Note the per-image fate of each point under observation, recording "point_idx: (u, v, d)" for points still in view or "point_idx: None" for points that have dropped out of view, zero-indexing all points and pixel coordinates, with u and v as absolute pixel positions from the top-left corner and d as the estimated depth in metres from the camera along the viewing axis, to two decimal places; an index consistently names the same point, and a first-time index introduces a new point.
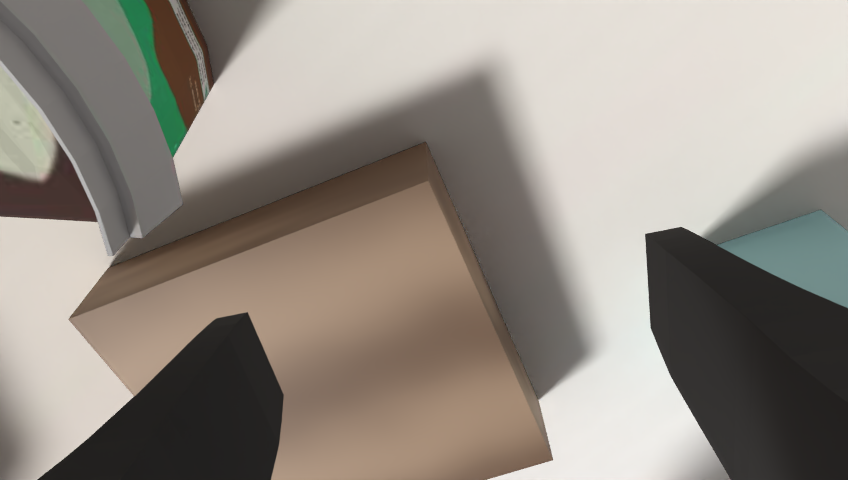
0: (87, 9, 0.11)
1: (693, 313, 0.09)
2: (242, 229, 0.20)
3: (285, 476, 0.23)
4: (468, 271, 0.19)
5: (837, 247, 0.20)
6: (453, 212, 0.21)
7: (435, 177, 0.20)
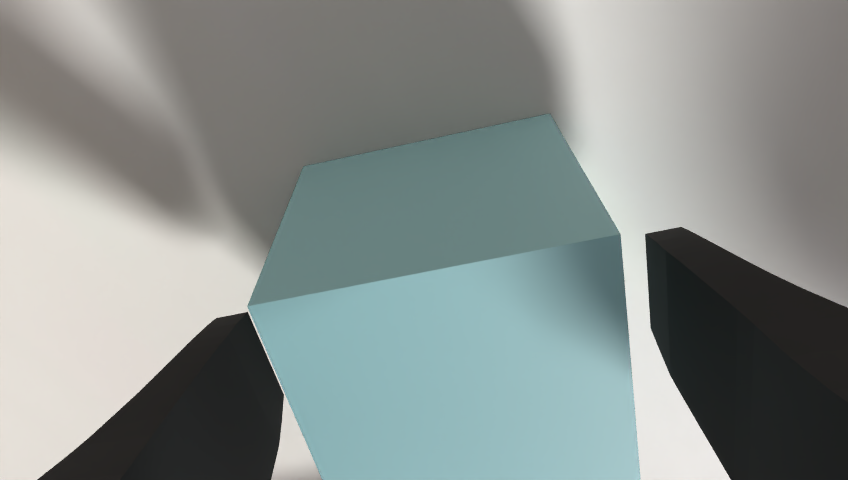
0: None
1: (693, 312, 0.09)
2: None
3: None
4: None
5: None
6: None
7: None
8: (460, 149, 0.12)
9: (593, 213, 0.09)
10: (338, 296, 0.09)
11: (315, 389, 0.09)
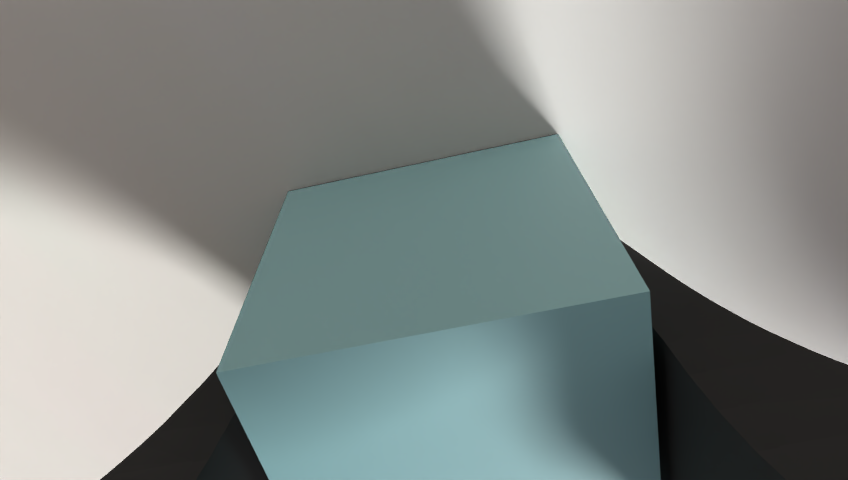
0: None
1: None
2: None
3: None
4: None
5: None
6: None
7: None
8: (460, 177, 0.11)
9: (616, 262, 0.08)
10: (322, 361, 0.07)
11: (297, 462, 0.08)
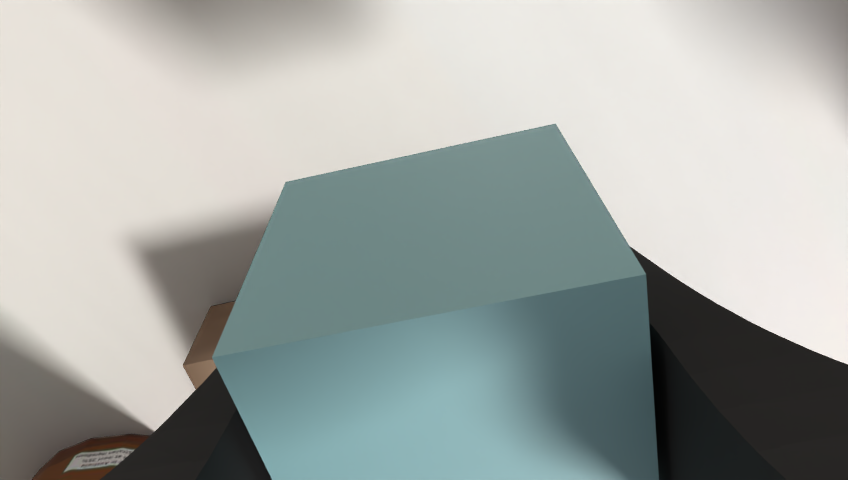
0: None
1: None
2: None
3: None
4: None
5: None
6: None
7: (220, 325, 0.20)
8: (458, 166, 0.11)
9: (612, 247, 0.08)
10: (319, 346, 0.07)
11: (292, 448, 0.08)
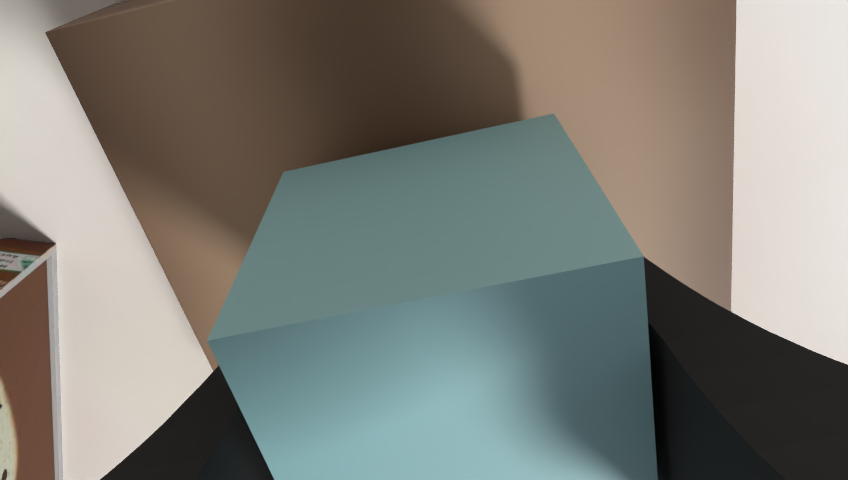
0: None
1: None
2: None
3: None
4: None
5: None
6: None
7: (121, 6, 0.13)
8: (456, 155, 0.11)
9: (610, 230, 0.08)
10: (314, 329, 0.07)
11: (289, 434, 0.08)
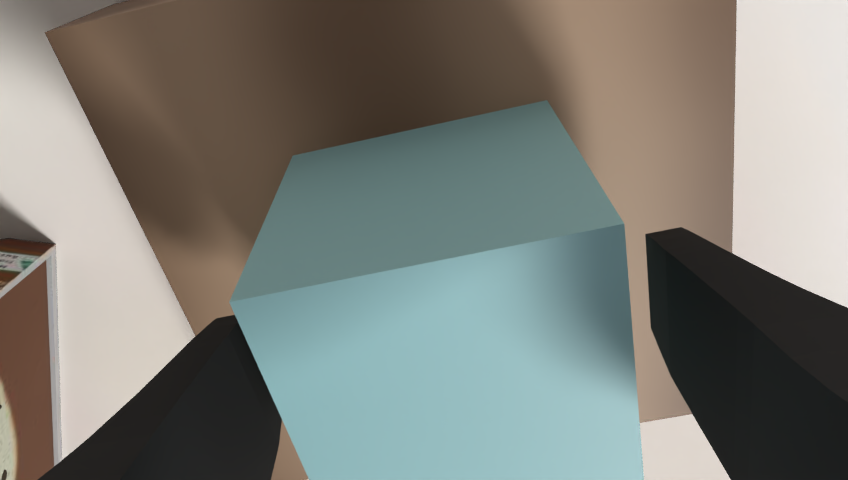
0: None
1: (693, 312, 0.09)
2: None
3: None
4: None
5: None
6: None
7: (120, 7, 0.13)
8: (455, 138, 0.11)
9: (595, 202, 0.08)
10: (326, 291, 0.08)
11: (302, 389, 0.09)
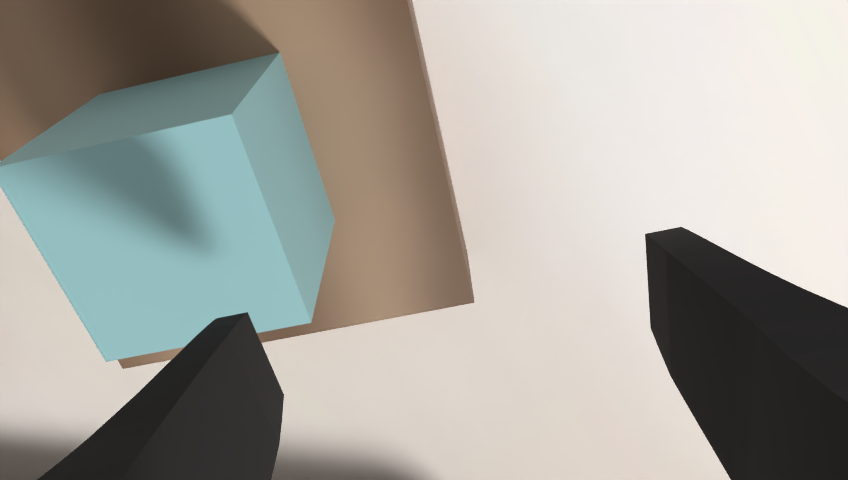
0: None
1: (693, 312, 0.09)
2: None
3: (357, 248, 0.19)
4: None
5: None
6: None
7: None
8: (201, 77, 0.16)
9: (231, 105, 0.13)
10: (51, 161, 0.12)
11: (52, 235, 0.13)
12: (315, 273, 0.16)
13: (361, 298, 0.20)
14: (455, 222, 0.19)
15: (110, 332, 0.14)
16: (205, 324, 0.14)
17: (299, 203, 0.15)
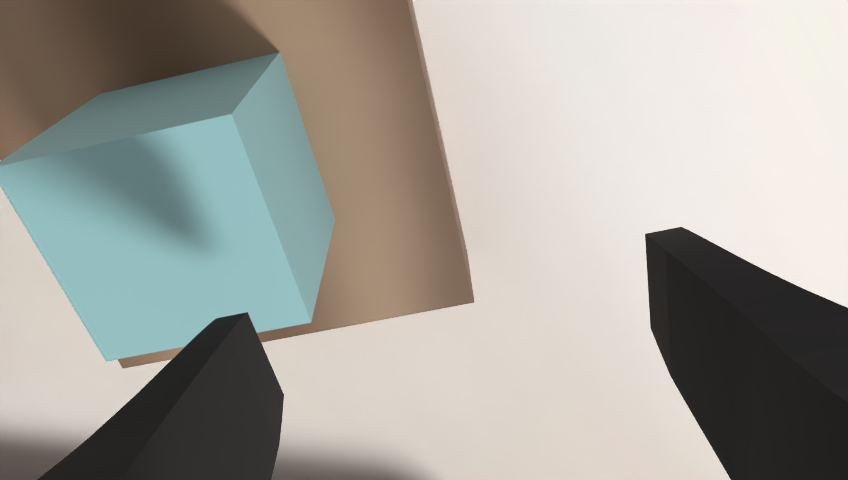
0: None
1: (693, 312, 0.09)
2: None
3: (357, 248, 0.19)
4: None
5: None
6: None
7: None
8: (202, 77, 0.16)
9: (231, 105, 0.13)
10: (51, 161, 0.12)
11: (52, 234, 0.13)
12: (315, 273, 0.16)
13: (361, 298, 0.20)
14: (455, 222, 0.19)
15: (110, 332, 0.14)
16: (205, 324, 0.14)
17: (299, 203, 0.15)
